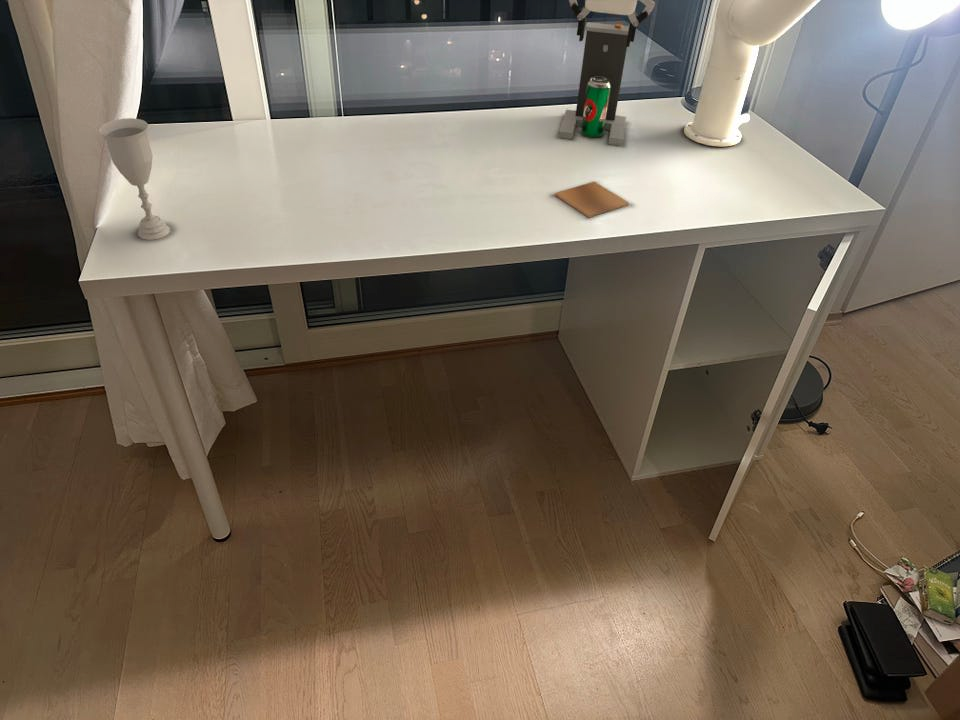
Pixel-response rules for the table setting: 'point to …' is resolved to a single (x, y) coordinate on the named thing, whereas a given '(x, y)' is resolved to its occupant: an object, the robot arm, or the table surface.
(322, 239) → the table surface
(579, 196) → the mat
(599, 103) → the soda can
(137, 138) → the chalice
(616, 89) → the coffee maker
